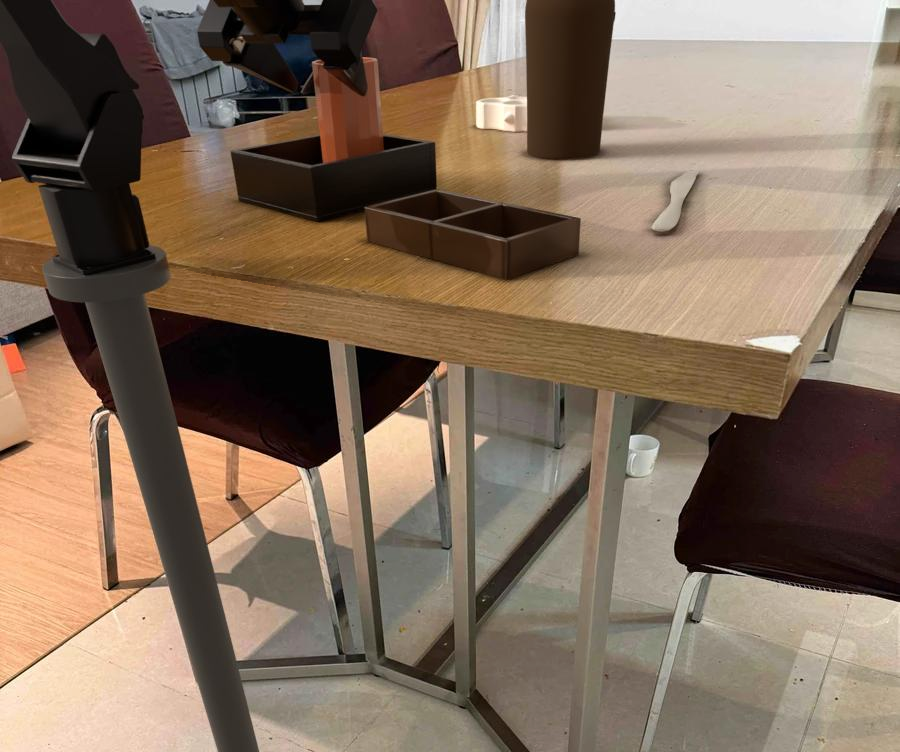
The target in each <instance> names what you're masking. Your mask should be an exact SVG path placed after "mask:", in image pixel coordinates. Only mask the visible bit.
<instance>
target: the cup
mask: <svg viewBox="0 0 900 752" xmlns="http://www.w3.org/2000/svg"><path fill="white" fill-rule="evenodd" d="M362 58H363V63H364V68H365V73H366V78H367V83H368V90H367V93H366V95H365V96H360V95H359V94H357V93H356V92H354V91H353V90H351V89H350V88H349V87H347V86H346V85H345V84H344V83H342V82H341V81H340V80H338V79H337V78H336V77H334V76H333V75H332V74H330V73H329V72H328V71H326V70H325V69H324V68H323V64H324V62H323V61H322V60H320V59H317V60H314V61H311V67H312V76H313V85H314V95H315V103H316V112H317V121H318V122H317V123H318V130H319V135H320V140H321V149H322V158H323V163H326V162H331V161H336V160H341V159H346V158H350V157H355V156H360V155H365V154H370V153H375V152H380V151H384V144H383V134H384V132H383V130H384V129H383V117H382V106H381V105H382V102H381V89H380V87H381V86H380V78H379V77H380V75H379V62H378V61H379V60H378V59H377V57H376V58H375V57H363V56H362Z"/></svg>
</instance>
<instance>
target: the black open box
mask: <svg viewBox="0 0 900 752" xmlns="http://www.w3.org/2000/svg"><path fill="white" fill-rule="evenodd" d="M383 144H384V151H380V152H375V153H370V154H365V155H360V156H355V157H350V158H346V159H341V160H336V161H331V162H326V163H323V158H322V149H321V140H320V134H315V135H309V136H303V137H298V138H293V139H288V140H287V139H286V140H282V141H276V142H271V143H265V144H260V145H254V146H249V147H244V148H237V149H232V150H230V157H231V158H230V159H231V163H232V170H233V176H234V181H235V187H236V192H237V199H238V202H242V203H246V204H249V205H253V206H256V207H260V208H264V209H268V210H271V211H274V212H279V213H282V214H285V215H290V216H293V217H296V218H301V219H305V220H309V221H312V222H315V223H320V222H324V221H327V220H332V219H335V218H339V217H343V216H348V215H351V214H355V213H359V212H363V211H364V212H365V209H364V207H367V206H371V205H375V204H379V203H383V202H387V201H391V200H395V199H399V198H403V197H407V196H411V195H415V194H420V193H424V192H428V191H432V190H436V189H438V181H437V156H436V153H437V151H436V150H437V149H436V142H435V141H433V140H425V139H419V138H418V139H417V138H412V137H406V136H399V135H393V134H388V133H387V134H385V133H383Z"/></svg>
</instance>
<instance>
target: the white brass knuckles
mask: <svg viewBox="0 0 900 752" xmlns="http://www.w3.org/2000/svg"><path fill="white" fill-rule="evenodd" d="M475 109H476V110H475V118H476V119H475V126H476V128H477V129H481V130H499V131H504V132H513V133H521V132H524V133H525V132H526V133H527V96H520V95H517V94H512V95H511V94H510V95H509V96H503V97H488V98H487V97H486V98H481V99H478V100H477V101H476V102H475Z"/></svg>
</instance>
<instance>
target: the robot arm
mask: <svg viewBox="0 0 900 752" xmlns="http://www.w3.org/2000/svg"><path fill="white" fill-rule="evenodd" d="M378 10H379V9H378V7H377V6H376V3H375V2H374V0H322V1H321V3H320V4H305V3H304V0H209V1H208V3H207V5H206V8H205V10H204V13H203V15H202V18H201V20H200V23H199V25H198V27H197V30H196V32H197V40H198V44H199V48H200V49H201V51H203V52H204V54H205V55H206V56H207V57H208V58H209V60H210V61H211V62H222V64H223V65H224V66H225V67H232V68H234V69H236V70H239V71H242V72H243V73H247V74H249V75H251V76H253V77H256V78H258V79H261V80H263V81H265V82H268V83H269V84H272V85H274V86H276V87H278V88H281V89H283V90H285V91H287V92H290V93H294V94H296V92H297V90H298V88H299V82H298V79H297V78H296V76H295V75H294V73H293V71H292V70H291V67H290V66H289V64H288V63H287V61H286V60H285V59H284V57H283V55H282V54H281V51H279V49H278V47H277V44H280V45H281V44H286V42H287V40H288V37H289V36H291V35H292V36H297V35H298V36H309V38H310V46H311V47H310V48H311V51H312V52H313V54H314V55H315V56H316V58H317V60H322V61H323V62H324V64H323V68H324V69H325V70H326V71H328V72H329V73H330V74H332V75H333V76H334V77H336V78H337V79H338V80H340V81H341V82H342V83H344V84H345V85H346V86H347V87H349V88H350V89H351V90H353V91H354V92H356V93H357V94H359V95H360V96H365V95H366V93H367V90H368V83H367V78H366V73H365V68H364V63H363V58H362V57H363V53H362V51H363V48H364V46H365V43H366V41H367V38H368V35H369V33H370V30H371V28H372V25H373V23H374V20H375V18H376V16H377V13H378ZM275 44H276V45H275ZM0 45H1V47H2V48H3V50H4V53H5V55H6V58H7V62H8V68H9V73H10V76H11V83H12V86H13V90H14V93H15V95H16V97H17V99H18V102H19V103H20V105H21V107H22V109H23V110H24V113H25V114H26V116H27V119H26V122H25V123H24V126H23V129H22V131H21V133H20V136H19V138H18V141H17V143H16V145H15V148H14V150H13V153H12V155H11V160H12V162H13V163H14V165H15V166H16V168H17V170H18V171H19V173H20V174H21V176H22V177H23V179H24V181H25V182H26V183H27V184H40V185H38V186H37V187H38V190H39V194H40V197H41V200H42V205H43V208H44V210H45V214H46V217H47V220H48V224H49V226H50V230H51V233H52V237H53V241H54V243H55V246H56V251H57V254H53V255H52V256H51V259H53V262H55V263H57V264H59V265H61V266H64V267H66V268H68V269H70V270H72V271H75V272H77V273H79V274H81V275H92V274H96V273H100V272H104V271H108V270H112V269H116V268H120V267H124V266H128V265H133V264H137V263H141V262H145V261H149V260H153V259H155V258H156V256H155V252H152V251H150V250H147V249H145V248H148V247H149V245H151V244H150V240H149V237H148V232H147V228H146V224H145V220H144V215H143V211H142V207H141V203H140V198H139V196H137V195H136V194H134V193H133V192H132V188H131V185H130V184H133V183H137V182H140V181H141V176H142V174H141V173H142V139H143V138H142V137H143V123H144V121H145V112H144V108H143V106H142V103H141V101H140V98H139V97H138V95H137V93H136V92H135V91H134V90H139V89H140V85H139V83H138V82H137V81H135V79H134V78H133V77H131V76H130V74H129V72H128V71H127V70H126V68H125V67H124V65H123V63H122V61H121V59H120V57H119V54H118V52H117V49H116V47H115V46H114V44H113V43H112V41H111V40H110V39H109V37H108V36H107V35H106V34H104V33H80V32H78V31H77V30H76V29H75V28H73V26H71V25H70V24H69V23H68V22H67V21H66V19H65V17H63V16H62V14H61V12H60V11H59V9H58V7H57V6H56V4H55V2H54V1H53V0H0Z"/></svg>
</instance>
